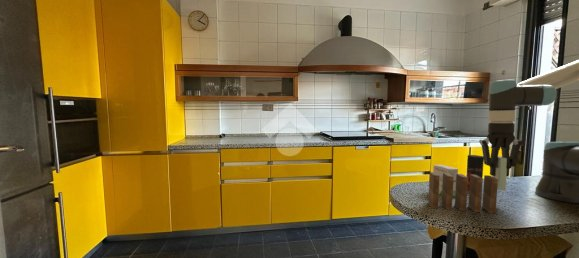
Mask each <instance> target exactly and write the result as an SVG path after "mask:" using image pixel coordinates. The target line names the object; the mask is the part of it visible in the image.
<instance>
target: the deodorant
mask: <svg viewBox="0 0 579 258" xmlns="http://www.w3.org/2000/svg"><path fill="white" fill-rule="evenodd" d="M466 163H467V164H466V175H465V176H466V177H468V188H467V190H469V186H470V174H471V175H477V176H479V177H481V178H483V179H484V177H483V176H484V175H483V174H484V159H483V155H476V154H468V155H467V162H466Z"/></svg>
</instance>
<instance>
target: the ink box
mask: <svg viewBox="0 0 579 258" xmlns="http://www.w3.org/2000/svg"><path fill="white" fill-rule="evenodd" d="M432 168H433V170H432V172H435V173H437V174H438V175H439V176H440V178H439V195H441V196H442V183H443V173H449V174H450V175H452V176H454V181H453V198H455V191H456V174H459V169H458V168H456V167H452V166H449V165H448V166H447V165H444V164H434V165H433V167H432Z"/></svg>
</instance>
